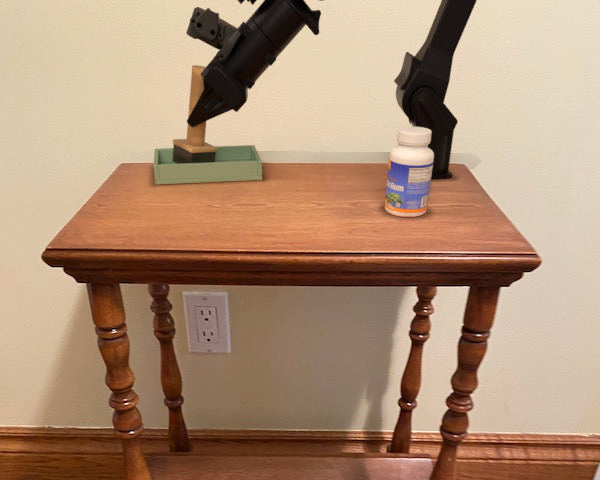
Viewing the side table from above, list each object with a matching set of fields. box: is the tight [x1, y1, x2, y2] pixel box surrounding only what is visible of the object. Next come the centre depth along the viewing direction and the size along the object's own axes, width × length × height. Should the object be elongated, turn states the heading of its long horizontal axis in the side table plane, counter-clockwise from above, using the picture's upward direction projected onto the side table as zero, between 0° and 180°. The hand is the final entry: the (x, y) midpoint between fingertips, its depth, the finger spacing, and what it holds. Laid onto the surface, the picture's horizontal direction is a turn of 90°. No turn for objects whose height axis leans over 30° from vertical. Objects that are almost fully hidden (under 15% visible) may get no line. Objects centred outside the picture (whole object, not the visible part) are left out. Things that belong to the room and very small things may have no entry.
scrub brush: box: [172, 64, 217, 164], centre depth 89 cm, size 5×5×13 cm
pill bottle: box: [384, 125, 434, 218], centre depth 77 cm, size 5×5×10 cm
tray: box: [153, 144, 263, 186], centre depth 93 cm, size 15×10×3 cm, turn 100°
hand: (190, 122), depth 89 cm, fingers closed on scrub brush, 2 cm apart
